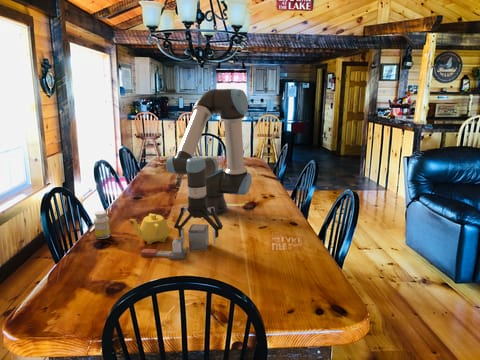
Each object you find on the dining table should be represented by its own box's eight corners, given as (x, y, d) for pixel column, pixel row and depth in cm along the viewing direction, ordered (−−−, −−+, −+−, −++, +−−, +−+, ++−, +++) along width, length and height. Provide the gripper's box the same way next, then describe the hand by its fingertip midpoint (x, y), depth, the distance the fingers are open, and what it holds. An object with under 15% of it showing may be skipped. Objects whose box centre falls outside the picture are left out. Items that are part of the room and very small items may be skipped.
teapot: (149, 232, 177) (147, 208, 174) (175, 236, 172) (174, 211, 169) (130, 243, 164) (128, 218, 161) (159, 248, 159) (157, 221, 156)
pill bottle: (106, 232, 176) (104, 209, 173) (113, 236, 172) (110, 212, 169) (93, 236, 172) (90, 212, 169) (99, 240, 167) (96, 216, 164)
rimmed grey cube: (192, 243, 163) (191, 224, 161) (208, 244, 162) (208, 224, 160) (189, 250, 156) (188, 230, 154) (206, 251, 156) (205, 231, 153)
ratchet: (145, 250, 157) (144, 236, 155) (187, 251, 155) (186, 237, 154) (139, 258, 150) (138, 243, 148) (183, 259, 149) (183, 244, 147)
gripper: (164, 198, 151) (167, 246, 156) (226, 199, 149) (227, 248, 154) (169, 192, 158) (172, 239, 163) (228, 193, 156) (229, 241, 161)
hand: (199, 244), depth 159 cm, fingers open, 13 cm apart
